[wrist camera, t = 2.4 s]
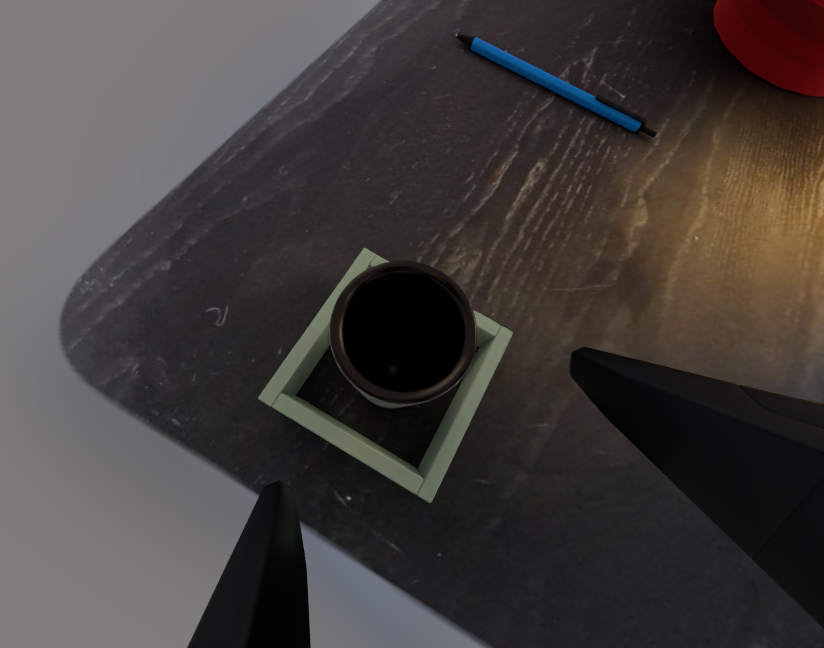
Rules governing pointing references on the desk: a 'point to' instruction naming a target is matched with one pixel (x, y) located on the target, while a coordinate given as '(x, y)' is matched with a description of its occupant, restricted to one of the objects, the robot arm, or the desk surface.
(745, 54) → the bowl
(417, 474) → the square frame
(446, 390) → the grey cylindrical cup
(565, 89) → the pen
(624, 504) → the desk surface
